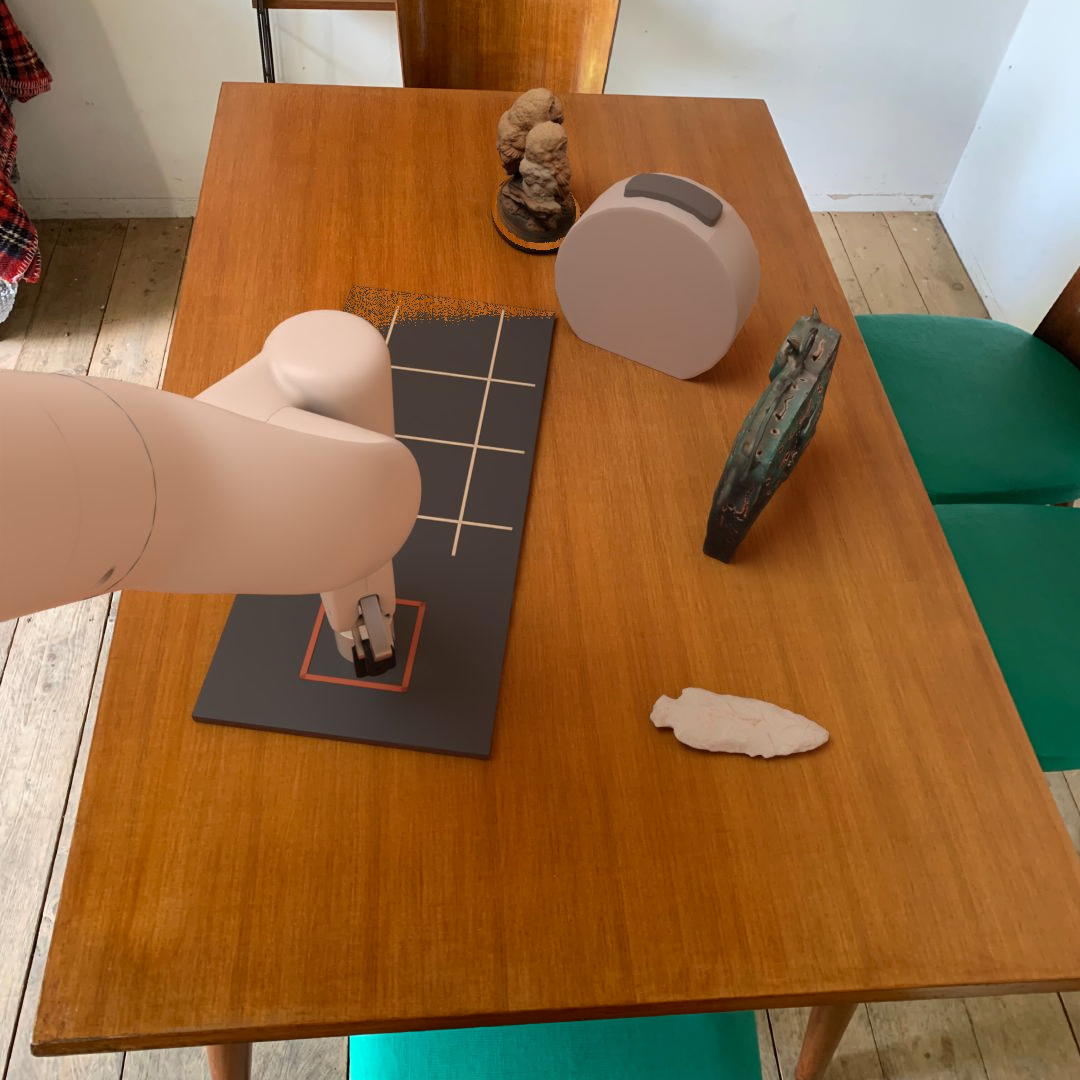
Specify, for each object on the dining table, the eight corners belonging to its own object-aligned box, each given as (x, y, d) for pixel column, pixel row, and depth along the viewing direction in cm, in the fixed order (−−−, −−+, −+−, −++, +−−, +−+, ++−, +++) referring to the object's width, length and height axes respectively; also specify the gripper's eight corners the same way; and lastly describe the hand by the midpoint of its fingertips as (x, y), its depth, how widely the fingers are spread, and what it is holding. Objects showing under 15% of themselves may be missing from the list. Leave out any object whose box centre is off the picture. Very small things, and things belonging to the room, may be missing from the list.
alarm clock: (739, 355, 107) (788, 202, 91) (716, 393, 102) (765, 239, 87) (575, 292, 111) (595, 136, 96) (547, 326, 107) (563, 169, 91)
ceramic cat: (753, 426, 100) (810, 271, 84) (809, 449, 98) (879, 297, 82) (682, 550, 88) (734, 400, 73) (745, 579, 87) (811, 432, 71)
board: (488, 760, 74) (488, 754, 73) (193, 721, 74) (190, 715, 73) (554, 318, 108) (555, 310, 107) (353, 291, 108) (352, 284, 107)
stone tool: (647, 750, 76) (829, 770, 75) (650, 738, 74) (837, 757, 74) (648, 690, 80) (822, 708, 79) (651, 677, 78) (829, 695, 77)
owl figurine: (591, 260, 115) (610, 130, 102) (498, 262, 114) (505, 130, 100) (570, 180, 126) (584, 53, 113) (484, 181, 125) (488, 51, 111)
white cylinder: (344, 671, 77) (340, 647, 73) (329, 623, 79) (324, 598, 76) (402, 654, 78) (400, 629, 75) (385, 607, 81) (383, 582, 78)
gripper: (259, 408, 66) (290, 553, 79) (317, 596, 56) (341, 725, 70) (361, 388, 68) (375, 532, 81) (434, 565, 58) (435, 696, 72)
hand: (359, 621), depth 75 cm, fingers open, 9 cm apart
